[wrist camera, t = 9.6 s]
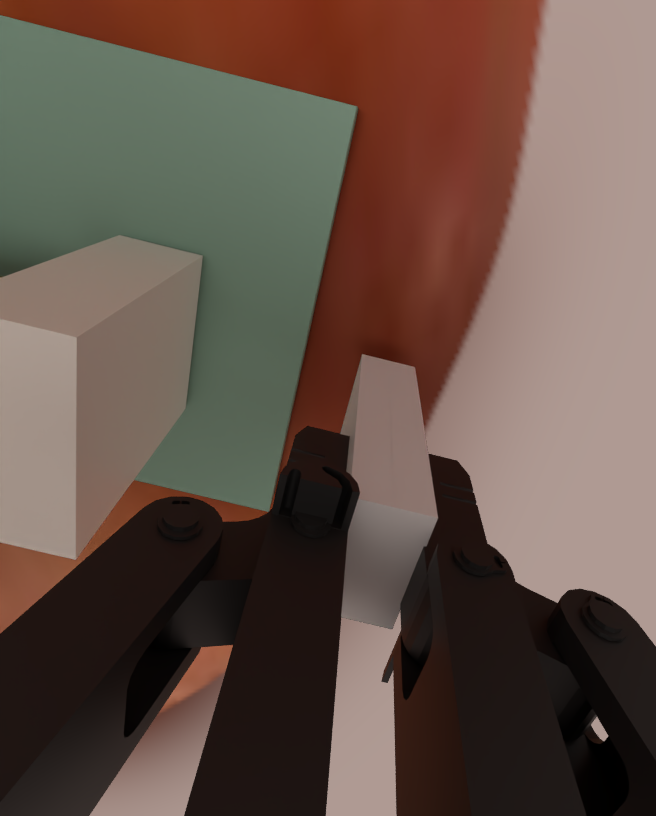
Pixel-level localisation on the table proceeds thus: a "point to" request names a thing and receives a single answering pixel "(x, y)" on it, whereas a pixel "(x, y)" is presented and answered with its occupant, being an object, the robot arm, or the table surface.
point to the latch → (88, 383)
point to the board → (182, 221)
